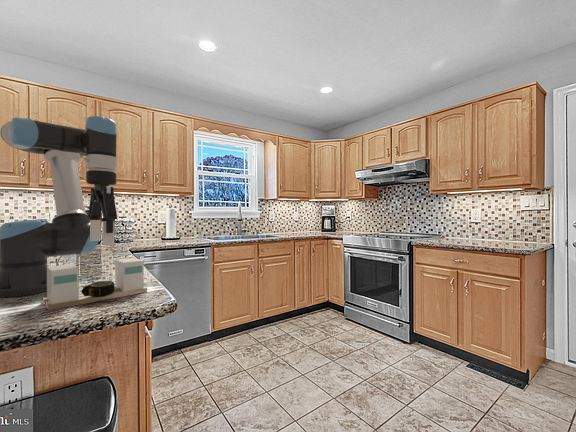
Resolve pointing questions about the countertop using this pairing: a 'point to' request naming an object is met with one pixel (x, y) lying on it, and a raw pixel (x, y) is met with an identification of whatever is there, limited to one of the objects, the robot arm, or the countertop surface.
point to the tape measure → (99, 289)
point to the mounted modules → (67, 279)
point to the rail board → (91, 298)
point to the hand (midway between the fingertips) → (101, 242)
